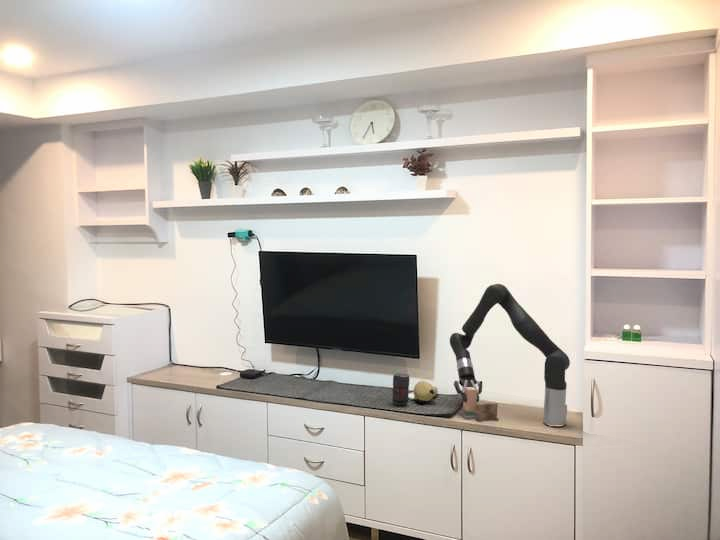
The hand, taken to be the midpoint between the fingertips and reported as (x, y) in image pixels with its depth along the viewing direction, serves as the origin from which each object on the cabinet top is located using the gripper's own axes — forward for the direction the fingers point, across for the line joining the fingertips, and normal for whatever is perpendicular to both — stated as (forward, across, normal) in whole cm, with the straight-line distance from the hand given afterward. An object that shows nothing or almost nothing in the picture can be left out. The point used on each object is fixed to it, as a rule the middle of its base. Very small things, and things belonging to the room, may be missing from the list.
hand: (471, 401), depth 277 cm
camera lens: (-8, -30, +19) cm, 37 cm away
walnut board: (+8, +6, +3) cm, 11 cm away
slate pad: (+4, 0, +7) cm, 8 cm away
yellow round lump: (-11, -16, +22) cm, 30 cm away
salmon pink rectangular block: (+2, 0, +4) cm, 5 cm away
